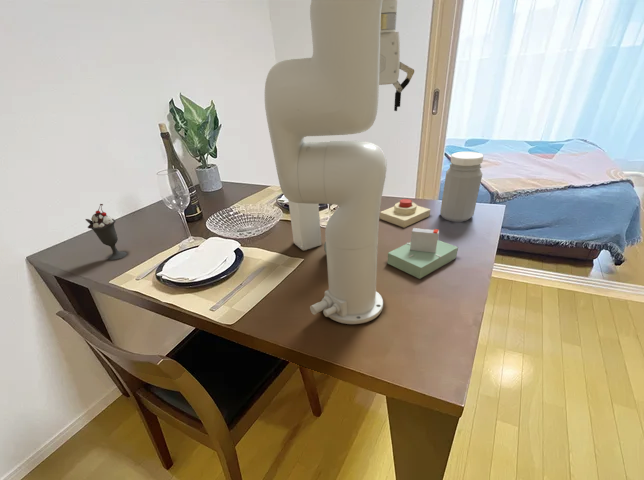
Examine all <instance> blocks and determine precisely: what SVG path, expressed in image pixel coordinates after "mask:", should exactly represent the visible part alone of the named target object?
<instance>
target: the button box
mask: <svg viewBox="0 0 644 480" xmlns="http://www.w3.org/2000/svg"><path fill="white" fill-rule="evenodd" d="M430 214H431V209H430V208H427V207H424V206H420V205H418V204H417V203H415V202H414V201H412V206H411V207H408V208H403V207H400V201H398V202H395V204H394V206H391V207H389V208H387V209H384V210H382V211H381V210H380V213H379V220H383V221H385V222H388V223H390V224H393V225H396V226H398V227H401V228H407V227H408V226H411V225H413V224H416V223H417V222H420V221H423V220H424V219H426V218H429V217H430V216H431V215H430Z"/></svg>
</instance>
